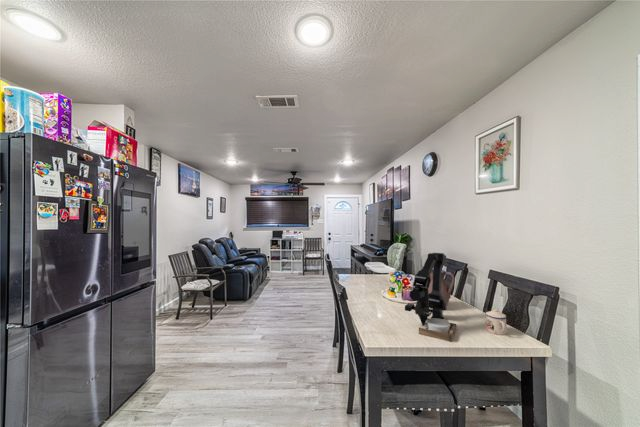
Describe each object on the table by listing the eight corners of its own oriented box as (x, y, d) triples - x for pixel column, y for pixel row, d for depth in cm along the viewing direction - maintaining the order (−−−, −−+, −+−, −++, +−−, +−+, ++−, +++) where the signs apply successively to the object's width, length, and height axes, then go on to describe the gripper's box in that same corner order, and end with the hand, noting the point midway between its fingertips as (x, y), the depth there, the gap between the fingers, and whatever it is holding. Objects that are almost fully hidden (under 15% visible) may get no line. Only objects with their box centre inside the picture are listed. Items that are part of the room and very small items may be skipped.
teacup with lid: (482, 327, 139) (482, 306, 140) (500, 328, 138) (499, 306, 139) (495, 337, 128) (494, 314, 128) (514, 338, 127) (513, 314, 127)
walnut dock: (426, 323, 146) (426, 317, 146) (456, 329, 137) (456, 323, 138) (418, 334, 132) (418, 328, 132) (451, 341, 123) (450, 335, 124)
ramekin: (442, 338, 127) (441, 328, 127) (422, 330, 136) (422, 320, 136) (455, 333, 133) (454, 323, 133) (435, 326, 142) (435, 316, 142)
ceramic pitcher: (422, 301, 186) (421, 267, 187) (454, 305, 176) (454, 269, 177) (420, 309, 170) (419, 271, 171) (456, 313, 161) (455, 274, 162)
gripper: (401, 297, 139) (401, 326, 138) (438, 303, 128) (438, 335, 127) (407, 292, 148) (408, 320, 147) (442, 298, 137) (443, 327, 136)
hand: (423, 325), depth 139 cm, fingers closed
